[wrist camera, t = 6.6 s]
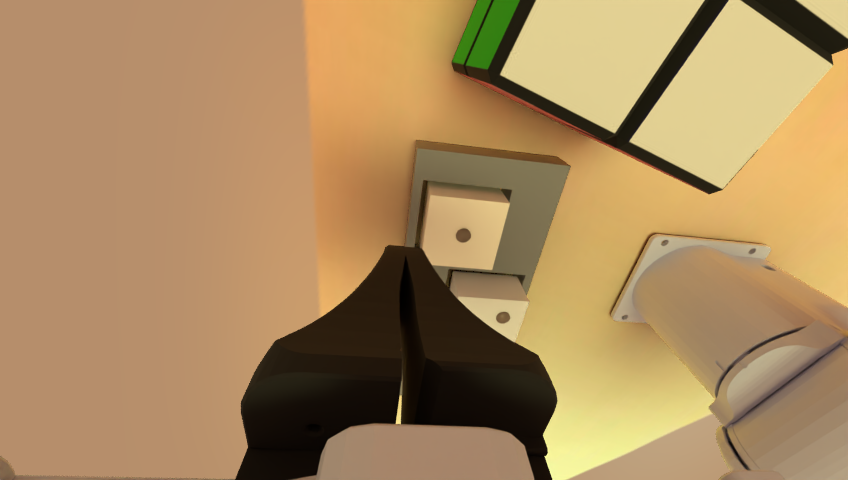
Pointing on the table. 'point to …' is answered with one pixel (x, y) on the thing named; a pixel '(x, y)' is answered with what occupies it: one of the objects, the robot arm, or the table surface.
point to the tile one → (462, 224)
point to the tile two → (492, 299)
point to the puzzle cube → (659, 71)
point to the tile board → (520, 183)
